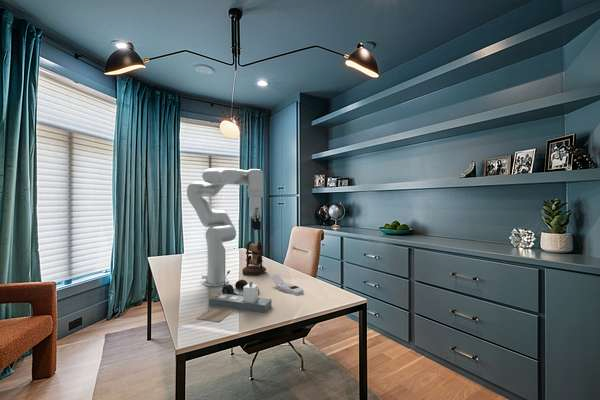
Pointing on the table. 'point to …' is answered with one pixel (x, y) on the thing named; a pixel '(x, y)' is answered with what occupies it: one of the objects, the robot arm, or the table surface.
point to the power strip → (239, 303)
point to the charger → (250, 293)
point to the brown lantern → (254, 259)
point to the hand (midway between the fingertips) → (256, 228)
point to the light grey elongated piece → (286, 285)
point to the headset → (239, 285)
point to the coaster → (214, 315)
